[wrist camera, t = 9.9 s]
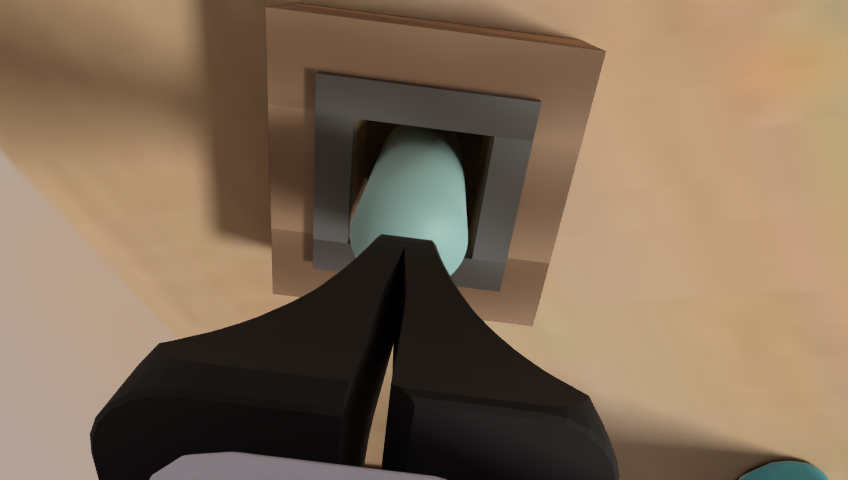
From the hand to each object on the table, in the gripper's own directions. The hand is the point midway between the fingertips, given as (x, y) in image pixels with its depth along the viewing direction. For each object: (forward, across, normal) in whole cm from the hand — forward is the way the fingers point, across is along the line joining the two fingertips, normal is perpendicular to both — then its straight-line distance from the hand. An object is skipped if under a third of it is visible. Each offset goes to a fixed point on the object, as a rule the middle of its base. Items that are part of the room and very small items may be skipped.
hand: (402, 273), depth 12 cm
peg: (+9, 0, 0) cm, 9 cm away
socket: (+9, 0, 0) cm, 9 cm away
